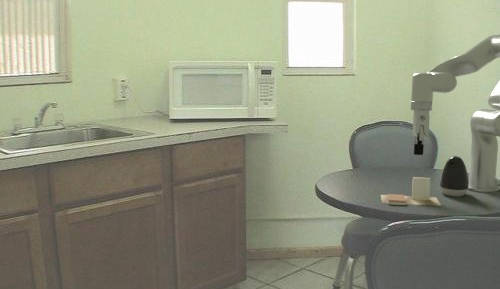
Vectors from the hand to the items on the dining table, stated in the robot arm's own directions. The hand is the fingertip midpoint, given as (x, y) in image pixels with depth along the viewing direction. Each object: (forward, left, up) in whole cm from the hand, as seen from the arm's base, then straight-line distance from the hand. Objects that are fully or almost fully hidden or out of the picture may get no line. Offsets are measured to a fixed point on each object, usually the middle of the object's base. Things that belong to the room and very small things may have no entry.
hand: (418, 154), depth 191 cm
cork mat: (+4, +11, -16) cm, 20 cm away
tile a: (0, +9, -15) cm, 18 cm away
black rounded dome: (-13, 0, -16) cm, 21 cm away
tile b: (+9, +10, -14) cm, 19 cm away
